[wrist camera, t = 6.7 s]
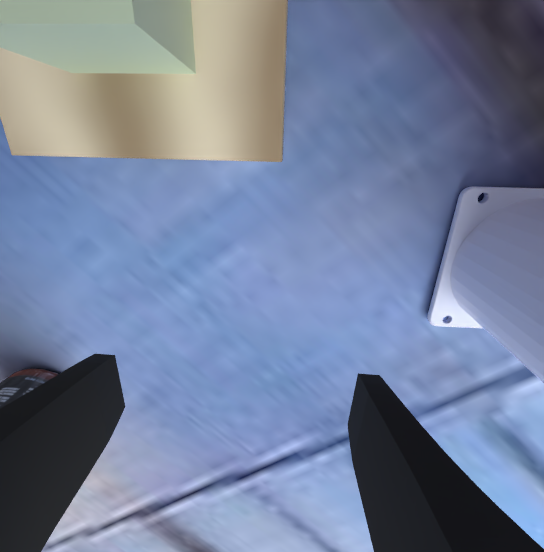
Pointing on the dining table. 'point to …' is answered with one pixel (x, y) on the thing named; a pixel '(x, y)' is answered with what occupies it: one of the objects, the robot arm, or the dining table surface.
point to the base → (162, 96)
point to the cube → (102, 34)
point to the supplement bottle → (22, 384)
